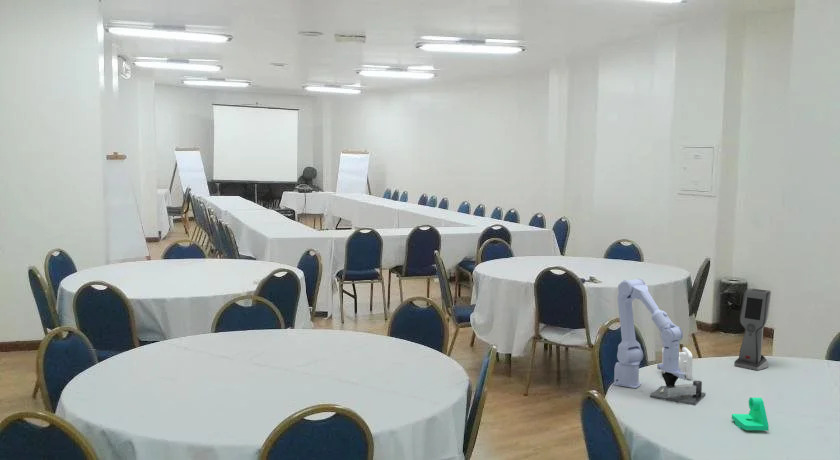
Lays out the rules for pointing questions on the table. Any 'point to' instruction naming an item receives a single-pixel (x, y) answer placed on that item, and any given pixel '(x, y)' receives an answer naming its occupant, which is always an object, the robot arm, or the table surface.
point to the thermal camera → (753, 328)
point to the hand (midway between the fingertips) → (670, 391)
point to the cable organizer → (684, 362)
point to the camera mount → (753, 416)
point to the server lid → (677, 397)
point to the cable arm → (683, 389)
